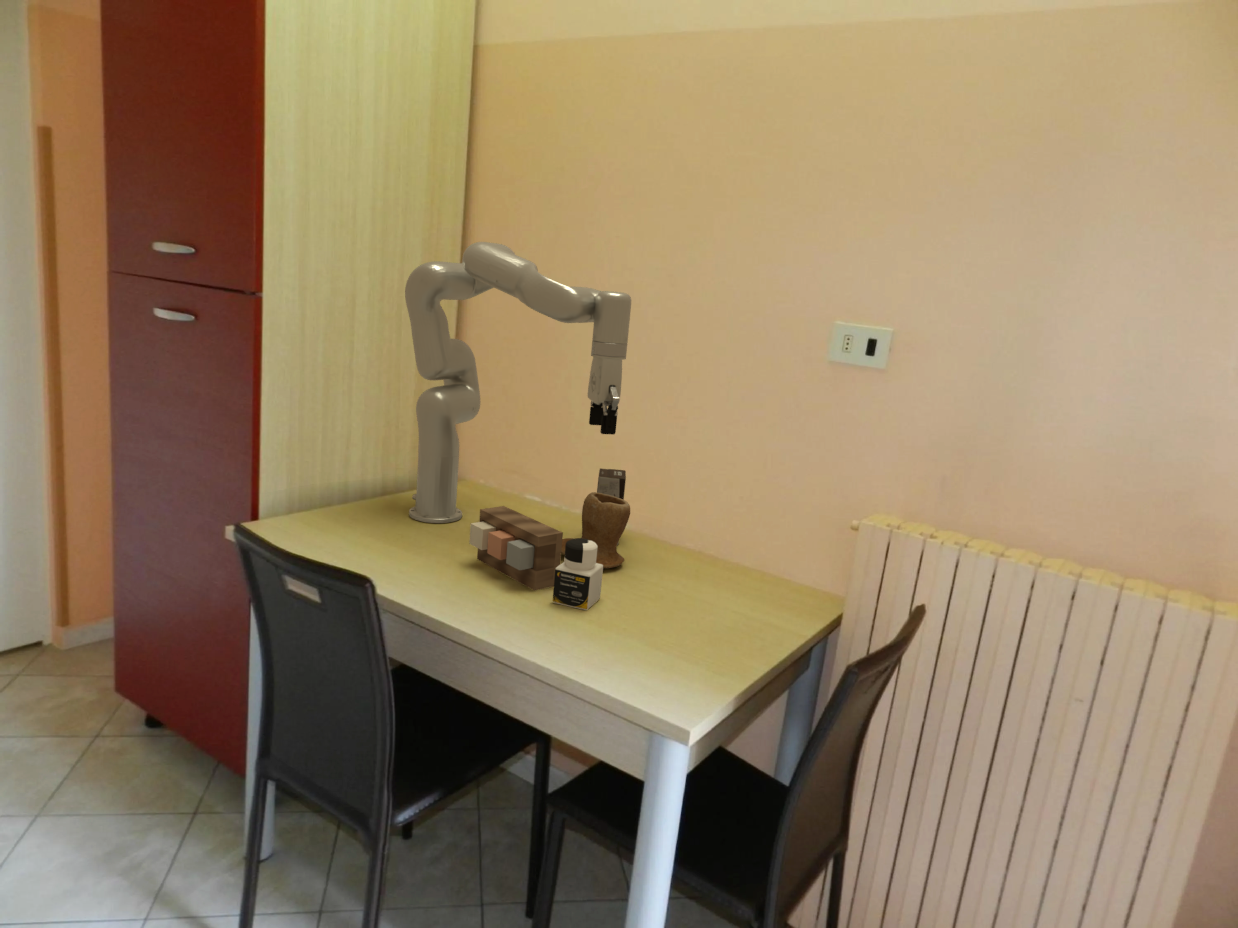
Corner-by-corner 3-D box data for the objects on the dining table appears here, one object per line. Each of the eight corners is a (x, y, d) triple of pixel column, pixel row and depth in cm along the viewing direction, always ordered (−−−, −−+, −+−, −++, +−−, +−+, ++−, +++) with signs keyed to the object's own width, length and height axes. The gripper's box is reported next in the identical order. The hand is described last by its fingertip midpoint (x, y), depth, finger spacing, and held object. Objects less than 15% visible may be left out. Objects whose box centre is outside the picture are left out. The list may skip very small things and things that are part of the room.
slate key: (506, 563, 166) (507, 541, 165) (522, 559, 169) (524, 538, 168) (519, 570, 163) (521, 548, 162) (536, 566, 166) (538, 545, 165)
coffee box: (619, 545, 197) (626, 478, 194) (591, 543, 197) (597, 476, 194) (619, 534, 206) (626, 469, 203) (593, 531, 206) (599, 467, 203)
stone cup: (636, 564, 186) (643, 498, 183) (600, 576, 177) (607, 507, 173) (584, 545, 195) (590, 482, 192) (548, 555, 186) (554, 489, 183)
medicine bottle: (551, 602, 160) (556, 542, 158) (566, 591, 167) (572, 532, 164) (586, 611, 158) (592, 550, 155) (600, 598, 165) (606, 539, 162)
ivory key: (469, 543, 176) (470, 523, 175) (485, 540, 178) (486, 520, 177) (481, 550, 172) (482, 529, 171) (497, 547, 175) (499, 526, 174)
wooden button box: (476, 559, 179) (480, 509, 177) (500, 554, 183) (503, 505, 181) (534, 590, 165) (538, 536, 163) (558, 585, 169) (563, 532, 167)
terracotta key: (487, 553, 171) (488, 532, 170) (503, 550, 174) (505, 529, 173) (500, 559, 168) (501, 538, 167) (516, 556, 171) (518, 535, 170)
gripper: (582, 345, 188) (575, 421, 192) (602, 354, 172) (595, 437, 176) (614, 347, 190) (607, 422, 194) (637, 356, 174) (629, 438, 178)
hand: (601, 429), depth 185 cm, fingers open, 9 cm apart
